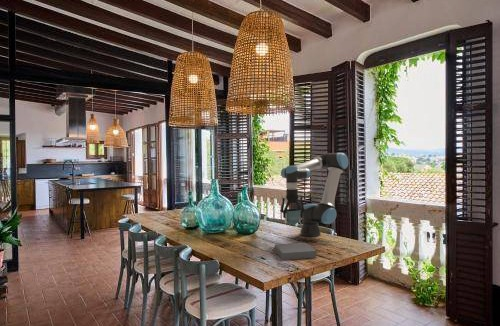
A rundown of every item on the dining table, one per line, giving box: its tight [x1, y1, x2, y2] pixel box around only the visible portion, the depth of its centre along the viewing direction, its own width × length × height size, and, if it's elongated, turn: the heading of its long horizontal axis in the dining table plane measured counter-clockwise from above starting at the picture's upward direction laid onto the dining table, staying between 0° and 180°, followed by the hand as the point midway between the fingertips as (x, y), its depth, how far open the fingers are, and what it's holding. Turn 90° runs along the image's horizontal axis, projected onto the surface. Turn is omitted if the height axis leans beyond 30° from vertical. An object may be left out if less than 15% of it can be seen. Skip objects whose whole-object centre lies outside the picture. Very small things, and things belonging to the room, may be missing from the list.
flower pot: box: [286, 208, 301, 225], centre depth 227 cm, size 9×9×9 cm
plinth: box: [274, 242, 317, 261], centre depth 206 cm, size 20×20×4 cm
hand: (292, 222), depth 227 cm, fingers closed on flower pot, 9 cm apart
